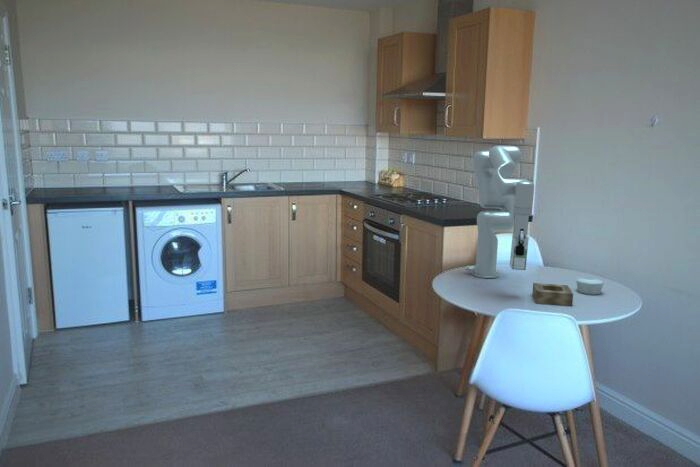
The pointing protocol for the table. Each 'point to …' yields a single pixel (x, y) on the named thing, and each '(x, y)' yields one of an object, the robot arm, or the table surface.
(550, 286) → the socket block
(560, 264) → the table surface
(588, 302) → the table surface
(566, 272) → the table surface
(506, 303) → the table surface
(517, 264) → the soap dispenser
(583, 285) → the ramekin
